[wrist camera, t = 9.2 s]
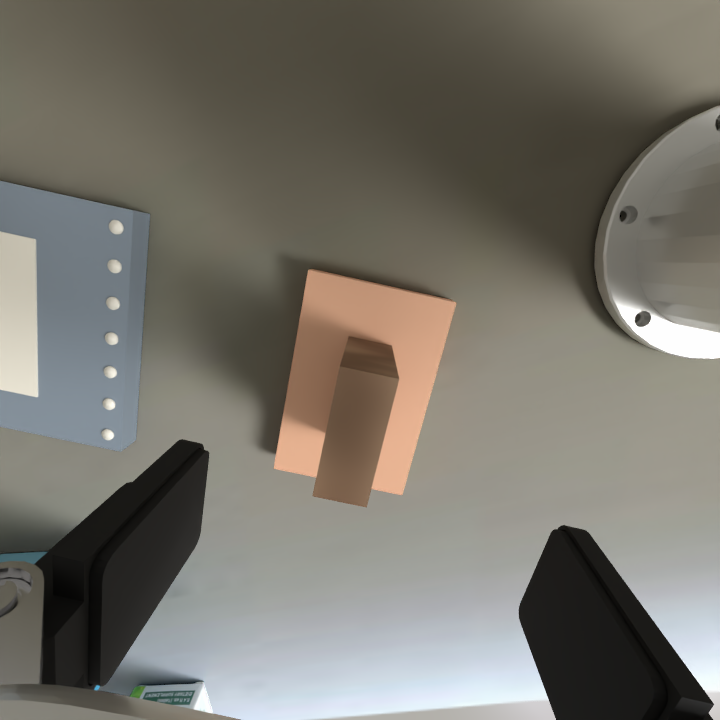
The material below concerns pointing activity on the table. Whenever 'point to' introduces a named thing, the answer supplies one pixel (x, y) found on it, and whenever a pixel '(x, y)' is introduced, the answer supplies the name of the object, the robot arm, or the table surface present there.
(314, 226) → the table surface
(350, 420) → the stub
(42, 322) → the board
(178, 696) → the syrup box
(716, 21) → the table surface
